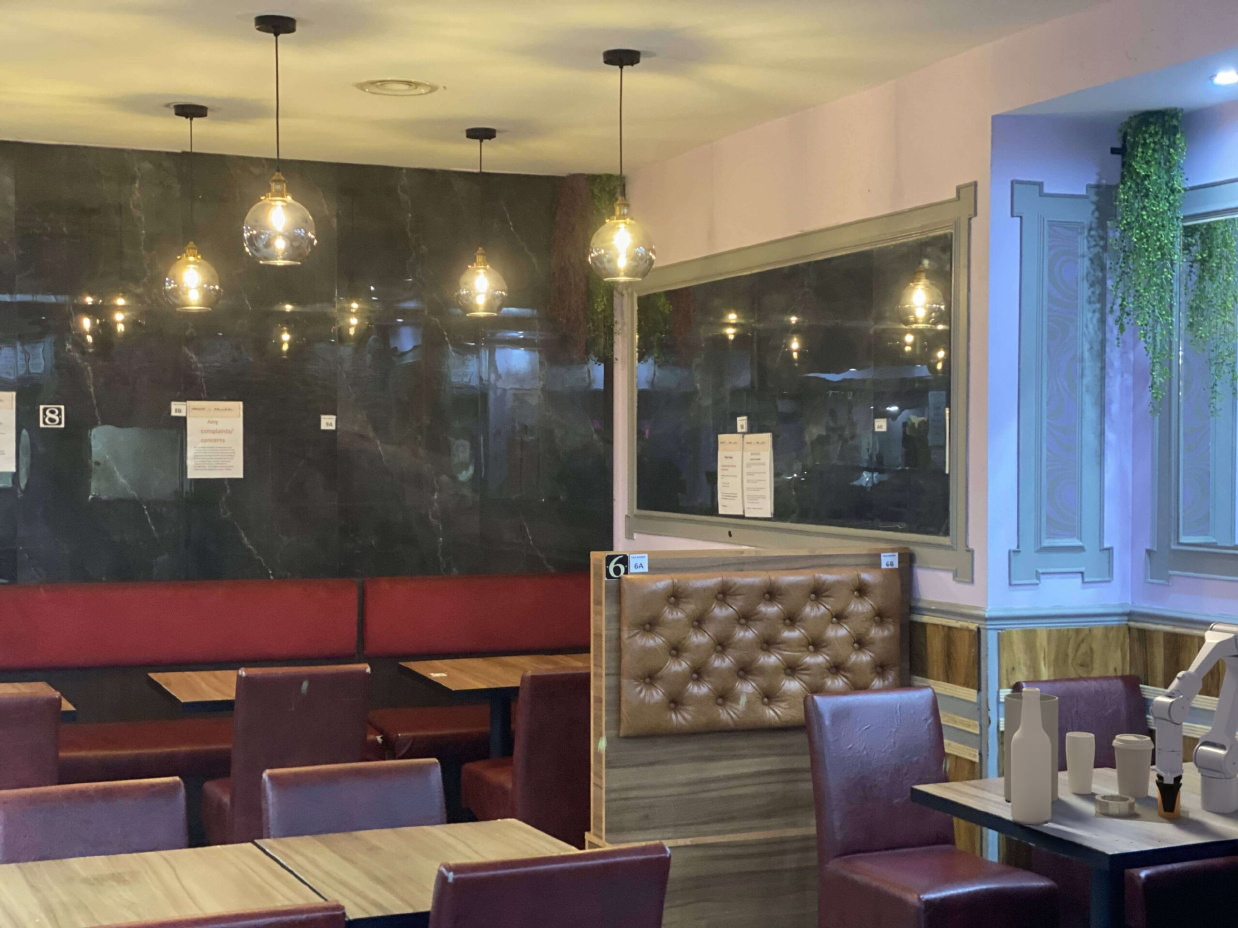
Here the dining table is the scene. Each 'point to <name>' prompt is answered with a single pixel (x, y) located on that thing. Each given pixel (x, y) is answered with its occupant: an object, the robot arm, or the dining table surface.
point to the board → (1150, 816)
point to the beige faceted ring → (1115, 805)
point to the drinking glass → (1080, 761)
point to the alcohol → (1031, 765)
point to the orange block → (1168, 814)
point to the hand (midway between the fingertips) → (1169, 808)
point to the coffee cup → (1133, 764)
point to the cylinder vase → (1012, 726)
